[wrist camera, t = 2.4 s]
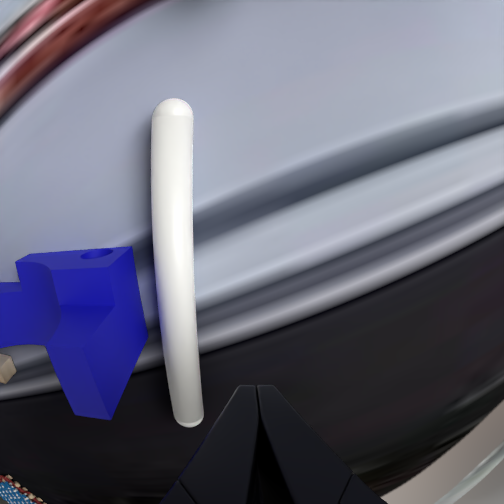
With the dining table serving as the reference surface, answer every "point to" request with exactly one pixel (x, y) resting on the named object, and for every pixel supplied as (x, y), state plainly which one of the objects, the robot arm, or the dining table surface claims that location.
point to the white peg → (176, 254)
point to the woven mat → (16, 492)
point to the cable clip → (79, 321)
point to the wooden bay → (6, 368)
